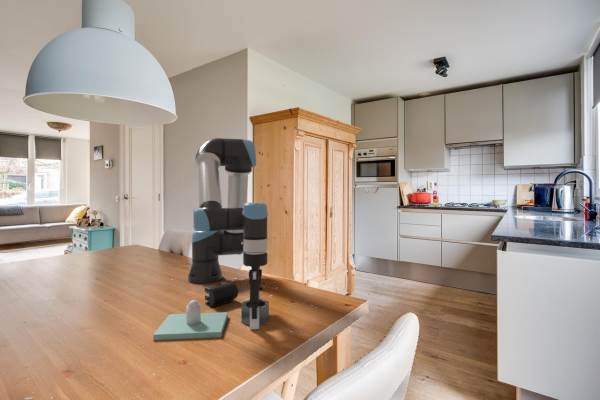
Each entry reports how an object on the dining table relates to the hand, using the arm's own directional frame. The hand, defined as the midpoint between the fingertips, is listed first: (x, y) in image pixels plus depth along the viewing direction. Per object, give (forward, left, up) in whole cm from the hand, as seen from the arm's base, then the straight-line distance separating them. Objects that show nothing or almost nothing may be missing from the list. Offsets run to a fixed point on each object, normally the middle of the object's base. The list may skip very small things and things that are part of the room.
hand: (255, 319), depth 98 cm
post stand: (+4, -18, 0) cm, 18 cm away
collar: (0, 0, 0) cm, 0 cm away
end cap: (-16, -13, -1) cm, 21 cm away
